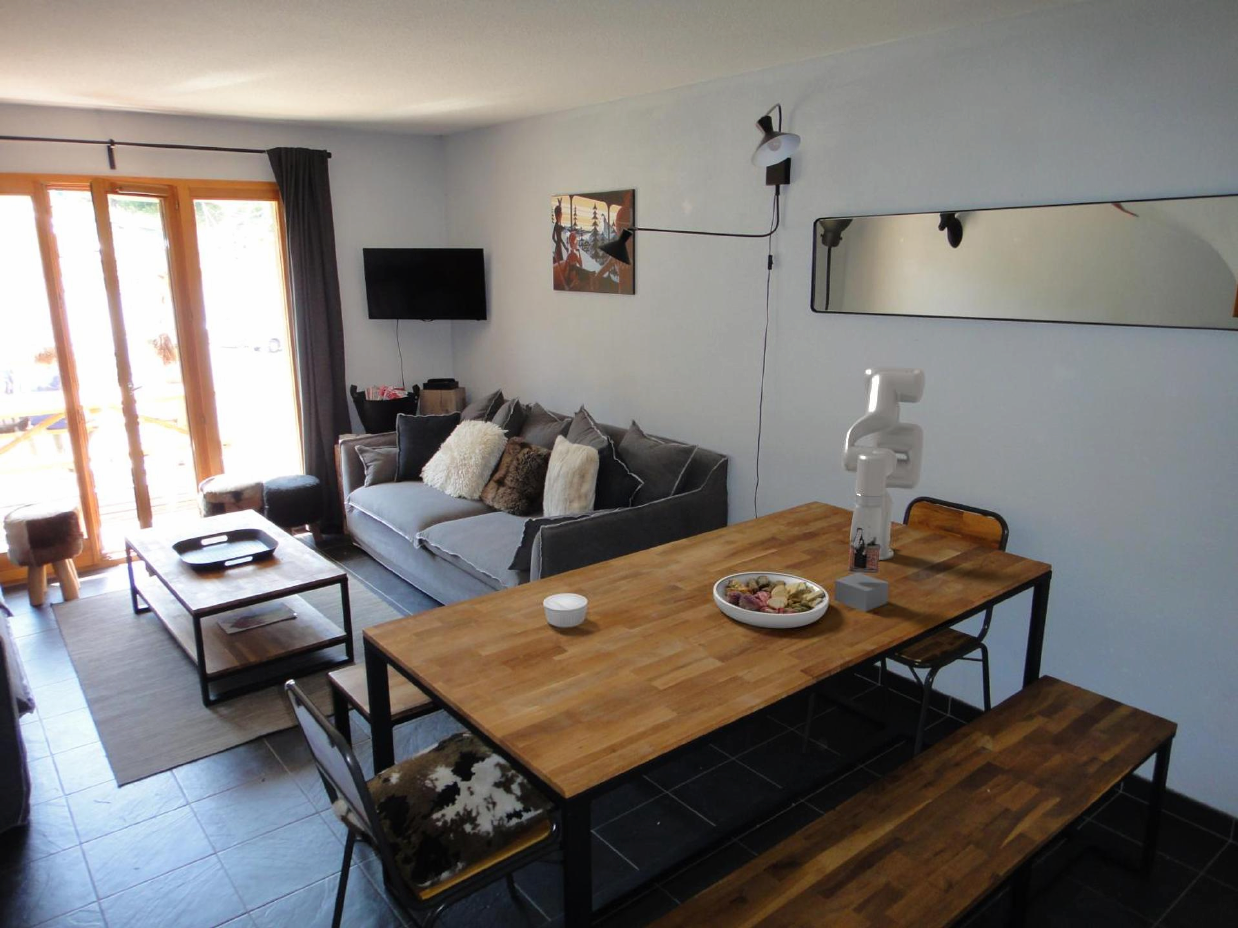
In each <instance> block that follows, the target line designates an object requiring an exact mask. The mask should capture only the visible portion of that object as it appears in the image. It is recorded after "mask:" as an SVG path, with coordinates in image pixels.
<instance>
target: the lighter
mask: <svg viewBox="0 0 1238 928" xmlns="http://www.w3.org/2000/svg"><path fill="white" fill-rule="evenodd" d="M876 540H877V537H875V538H874V540H873V541H872V542H873V543H871V542H870V543H868V544H867V550H866V554H867V563H866V568H865V569H862V568H858V567H855V566H854V557H855V548H854V547H853V544H854V541H853V542H852V541H850V542H849V557H848V566H847V571H849V572H852V573H857V572H858V573H861V574H878V573H879V571H880V570H879V562H880V560H879V552H880V548H881V545H880V544H875V543H876ZM861 541H862V542H864V540H861ZM860 545H861V544H860ZM861 546H862V547H863V548H864V545H861Z"/></svg>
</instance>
